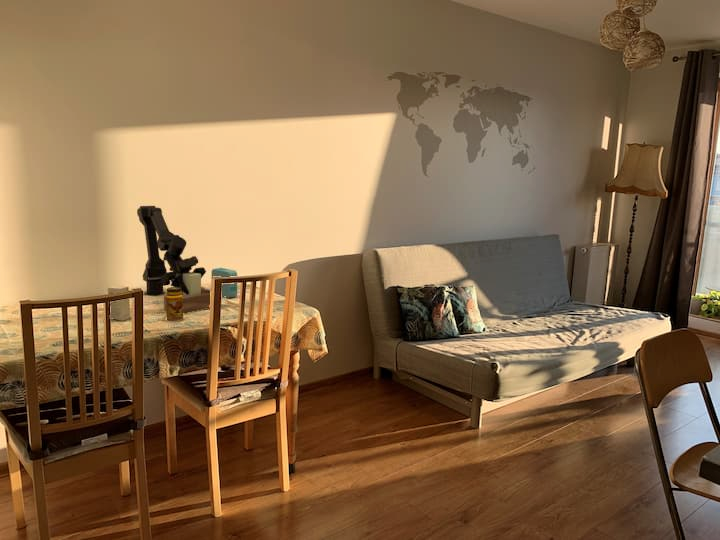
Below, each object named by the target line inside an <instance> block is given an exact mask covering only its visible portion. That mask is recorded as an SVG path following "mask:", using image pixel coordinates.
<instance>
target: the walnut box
mask: <svg viewBox="0 0 720 540" xmlns="http://www.w3.org/2000/svg"><path fill="white" fill-rule="evenodd" d="M203 288H204V287H203ZM203 288H201V295H197V296H192V297H187V298H183V313H185V314H189V313H188V312H190V313H194V312H198V311H197V310H199V311H202V310H201V309H203V310H206V309H205V308H208V309H210V308H209V305H210V290H211V289H207V288H205V289H203ZM166 295H167V294H164V295H163V305H164V306H163V309H164V311H166ZM193 311H194V312H193Z"/></svg>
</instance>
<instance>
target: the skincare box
mask: <svg viewBox="0 0 720 540" xmlns="http://www.w3.org/2000/svg"><path fill="white" fill-rule="evenodd" d="M129 289H130V288H129V286H124V285H123V286H122V285H113V286H112V285H111V286H108V287H107V295H108V294H114V293H121V292H126V291H129V292H130V290H129ZM130 305H131V304H130V298H129V299H124V300H119V301H113V302H111V303H110V306H111V318H113V319H117V320H116V321H125V320H129V319H131V307H130ZM113 319H112V320H113Z"/></svg>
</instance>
